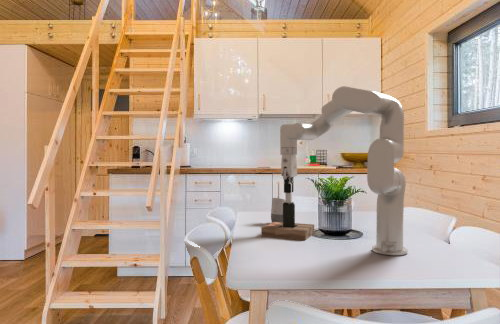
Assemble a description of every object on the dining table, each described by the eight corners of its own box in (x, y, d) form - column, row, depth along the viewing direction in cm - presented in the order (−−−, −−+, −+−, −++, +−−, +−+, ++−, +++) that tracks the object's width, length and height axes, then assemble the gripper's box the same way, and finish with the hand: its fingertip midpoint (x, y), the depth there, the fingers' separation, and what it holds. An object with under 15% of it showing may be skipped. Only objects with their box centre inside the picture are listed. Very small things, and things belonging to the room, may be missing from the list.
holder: (305, 240, 164) (305, 230, 164) (261, 236, 172) (261, 226, 172) (314, 233, 179) (314, 223, 179) (273, 229, 187) (273, 220, 187)
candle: (293, 230, 178) (293, 176, 178) (295, 233, 173) (295, 177, 173) (282, 231, 178) (282, 176, 177) (283, 233, 173) (283, 177, 172)
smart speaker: (292, 223, 203) (292, 197, 203) (282, 226, 196) (282, 198, 196) (277, 221, 209) (277, 195, 209) (267, 224, 202) (267, 197, 202)
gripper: (291, 151, 166) (291, 194, 166) (301, 151, 181) (301, 191, 181) (274, 151, 169) (274, 193, 169) (286, 151, 184) (286, 190, 184)
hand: (288, 192), depth 175 cm, fingers closed on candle, 3 cm apart
